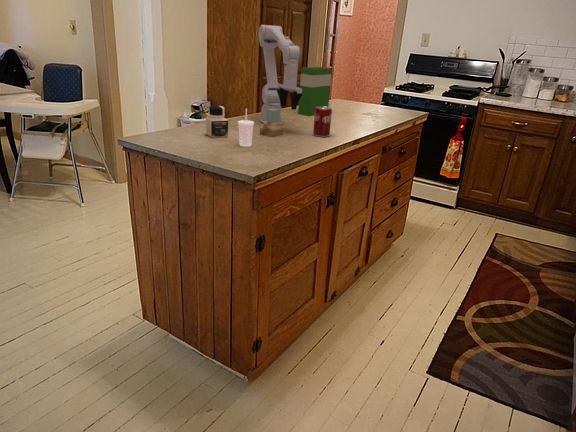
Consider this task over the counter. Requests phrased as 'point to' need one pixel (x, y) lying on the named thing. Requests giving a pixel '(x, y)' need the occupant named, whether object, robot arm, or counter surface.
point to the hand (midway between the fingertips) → (288, 107)
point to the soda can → (322, 121)
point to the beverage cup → (245, 132)
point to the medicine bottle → (216, 122)
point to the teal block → (272, 115)
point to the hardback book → (314, 89)
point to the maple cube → (271, 125)
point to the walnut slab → (271, 132)
